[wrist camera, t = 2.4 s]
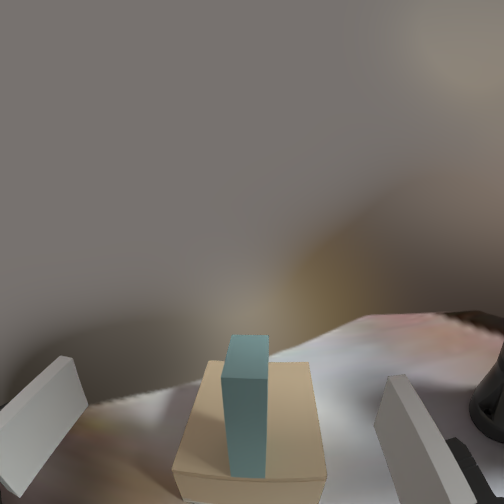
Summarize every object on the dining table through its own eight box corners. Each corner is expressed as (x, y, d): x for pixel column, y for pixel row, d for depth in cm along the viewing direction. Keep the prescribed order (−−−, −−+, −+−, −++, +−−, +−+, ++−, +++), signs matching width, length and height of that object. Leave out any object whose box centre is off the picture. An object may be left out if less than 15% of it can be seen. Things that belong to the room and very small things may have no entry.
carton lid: (326, 478, 20) (351, 376, 18) (172, 472, 21) (142, 369, 18) (308, 364, 40) (313, 281, 37) (209, 363, 41) (202, 280, 38)
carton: (316, 507, 22) (325, 480, 20) (183, 501, 23) (172, 473, 21) (304, 397, 41) (307, 366, 40) (212, 395, 42) (209, 364, 41)
